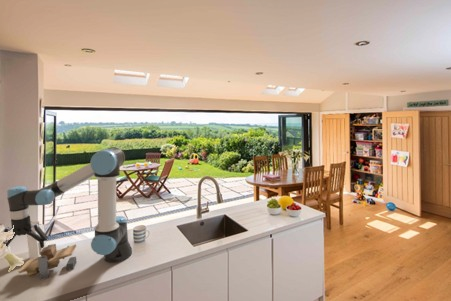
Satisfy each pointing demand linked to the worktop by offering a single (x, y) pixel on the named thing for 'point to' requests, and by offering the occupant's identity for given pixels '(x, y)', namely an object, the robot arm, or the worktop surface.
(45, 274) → the fulcrum
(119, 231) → the robot arm
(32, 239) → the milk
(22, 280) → the worktop surface
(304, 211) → the worktop surface
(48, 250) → the block
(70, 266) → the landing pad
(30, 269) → the tan piece
